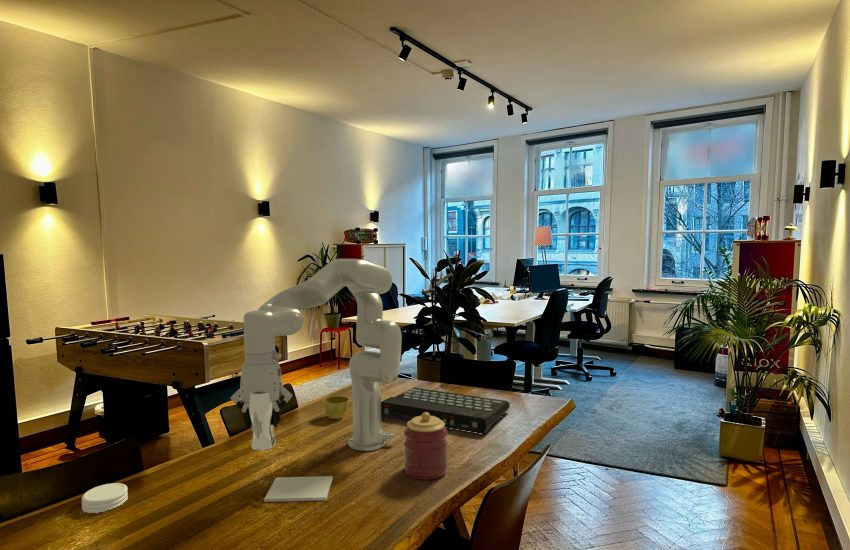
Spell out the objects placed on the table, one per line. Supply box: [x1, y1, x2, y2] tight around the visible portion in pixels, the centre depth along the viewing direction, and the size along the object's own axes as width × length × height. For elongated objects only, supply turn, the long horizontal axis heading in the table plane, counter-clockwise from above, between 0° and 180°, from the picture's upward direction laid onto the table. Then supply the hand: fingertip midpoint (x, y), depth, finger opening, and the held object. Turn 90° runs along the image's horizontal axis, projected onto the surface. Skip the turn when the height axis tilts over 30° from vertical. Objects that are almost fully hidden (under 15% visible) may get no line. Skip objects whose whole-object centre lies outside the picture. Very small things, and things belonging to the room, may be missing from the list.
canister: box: [403, 412, 449, 481], centre depth 145 cm, size 13×13×18 cm
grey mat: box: [263, 475, 333, 503], centre depth 134 cm, size 16×12×1 cm
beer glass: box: [248, 393, 277, 452], centre depth 129 cm, size 7×7×15 cm
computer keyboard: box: [381, 387, 511, 435], centre depth 195 cm, size 45×28×7 cm, turn 63°
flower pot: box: [322, 395, 350, 420], centre depth 192 cm, size 10×10×7 cm
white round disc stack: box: [81, 482, 129, 514], centre depth 127 cm, size 10×10×4 cm
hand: (262, 424), depth 129 cm, fingers closed on beer glass, 6 cm apart
